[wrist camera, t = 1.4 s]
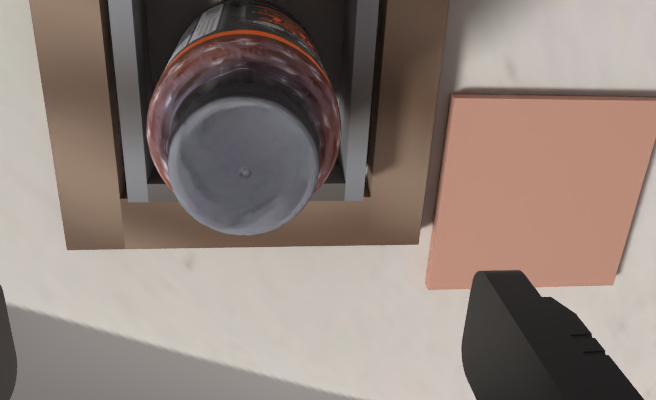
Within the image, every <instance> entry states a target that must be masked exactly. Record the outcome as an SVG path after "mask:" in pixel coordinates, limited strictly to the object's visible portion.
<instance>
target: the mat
mask: <svg viewBox="0 0 656 400" xmlns="http://www.w3.org/2000/svg"><path fill="white" fill-rule="evenodd" d="M655 139H656V97H607V96H539V95H472V94H451V98H450V105H449V113H448V120H447V127H446V135H445V142H444V149H443V157H442V164H441V172H440V179H439V186H438V194H437V201H436V208H435V216H434V223H433V230H432V238H431V245H430V252H429V260H428V267H427V274H426V282H425V284H426V286H427V288H428V290H440V289H471V286H472V281H473V278H474V275H475V274H476V272H478V271H490V270H520V271H522V272H523V273H524V274H525V275H526V277H527V278H528V279H529V281H530V282H531V283H532V285H533V286H534V287H560V286H600V285H613V284H614V280H615V277H616V274H617V270H618V267H619V263H620V260H621V256H622V253H623V249H624V246H625V242H626V239H627V236H628V232H629V229H630V225H631V222H632V218H633V215H634V211H635V208H636V205H637V201H638V198H639V194H640V191H641V187H642V184H643V180H644V177H645V173H646V170H647V167H648V163H649V160H650V156H651V153H652V149H653V146H654V142H655Z"/></svg>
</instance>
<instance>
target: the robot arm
mask: <svg viewBox="0 0 656 400" xmlns="http://www.w3.org/2000/svg"><path fill="white" fill-rule="evenodd" d="M462 362H463V367H464V372H465V375H466V377H467V380H468V382H469V384H470V386H471V388H472V391H473V393H474V395H475V397H476V399H477V400H644V399H643V398H642V396H641V395H640V394H639V393H638V391H637V390H636V389H635V388H634V386H633V385H632V384H631V383H630V381H629V380H628V379H627V378H626V376H625V375H624V374H623V373H622V371H621V370H620V369H619V368H618V366H617V365H616V364H615V363H614V361H613V360H612V359H611V358H610V356H609V355H605V350H604V349H603V348H602V346H601V345H600V344H599V343H598V341H597V340H596V339H595V338H592V334H591V332H590V331H589V330H588V329H587V327H586V326H585V325H584V324H583V322H582V321H581V320H580V319H579V317H578V316H577V315H576V314H575V313H574V312H572V311H571V310H569V309H568V308H566V307H565V306H563V305H562V304H560V303H559V302H558V301H556V300H555V299H553V298H552V297H541V296H540V294H539V293H538V292H537V290H536V289H535V288H534V286H533V285H532V283H531V282H530V281H529V279H528V278H527V277H526V275H525V274H524V273H523V272H522V271H520V270H490V271H478V272H476V274H475V275H474V278H473V281H472V286H471V292H470V297H469V303H468V309H467V315H466V321H465V327H464V333H463V339H462ZM16 375H17V358H16V352H15V347H14V342H13V338H12V332H11V328H10V323H9V318H8V313H7V308H6V303H5V298H4V293H3V290H2V287H1V285H0V400H9V399H10V398H11V396H12V393H13V390H14V386H15V381H16Z"/></svg>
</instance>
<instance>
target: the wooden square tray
mask: <svg viewBox="0 0 656 400" xmlns="http://www.w3.org/2000/svg"><path fill="white" fill-rule="evenodd" d="M29 3H30V9H31V16H32V23H33V29H34V36H35V42H36V49H37V56H38V62H39V69H40V75H41V82H42V88H43V95H44V102H45V108H46V115H47V121H48V128H49V134H50V141H51V148H52V154H53V161H54V167H55V174H56V181H57V187H58V194H59V200H60V207H61V213H62V220H63V227H64V233H65V240H66V246H67V250H97V249H161V248H224V247H288V246H351V245H415V244H419V236H420V228H421V220H422V212H423V205H424V197H425V189H426V181H427V173H428V165H429V157H430V149H431V141H432V133H433V125H434V118H435V110H436V102H437V94H438V86H439V78H440V70H441V62H442V54H443V46H444V39H445V31H446V23H447V15H448V7H449V0H381V12H380V24H379V37H378V49H377V61H376V73H375V86H374V98H373V110H372V122H371V135H370V147H369V159H368V171H367V184H366V186H364V184H365V172H366V159H367V147H368V134H369V122H370V109H371V97H372V84H373V72H374V59H375V47H376V34H377V22H378V9H379V0H345V16H344V33H343V51H342V68H341V85H340V103H339V111H340V117H341V128H342V136H341V143H340V148H339V152H338V156H337V159H336V162H335V164H334V167H333V169H332V171H331V172H330V174H329V176H328V178H327V180H326V181H325V182H324V184H323V185H322V186H321V188H320V189H319V190H318V191H317V192H316V193H315V194H314V195H313V196H312V197H311V198H310V200H309V202H308V204H307V205H306V206H305V207H304V209H303V210H302V211H301V212H300V213H299V214H298V215H297V216H296V217H294V218H293V219H292V220H291V221H289V222H288V223H286V224H285V225H283V226H281V227H279V228H277V229H275V230H272V231H269V232H266V233H262V234H257V235H249V236H248V235H234V234H232V235H230V234H225V233H221V232H218V231H216V230H213V229H211V228H209V227H207V226H206V225H203V224H201V223H199V222H198V221H197V220H195V219H194V218H193V217H192V216H191V215H190V214H189V213H188V212H187V211H186V210H185V209H184V208H183V207H182V206H181V204H180V203H179V201H178V199H177V197H176V196H175V194H174V192H172V190H171V189H170V188H169V187H168V186H167V184H166V183H165V182H164V181H163V179H162V178H161V176H160V174H159V173H158V171H157V169H156V167H155V165H154V163H153V161H152V158H151V155H150V151H149V146H148V141H147V136H146V128H147V114H148V109H149V104H150V101H151V98H152V86H151V73H150V60H149V46H148V33H147V20H146V6H145V0H108V6H109V16H110V26H111V36H112V46H113V56H114V66H115V76H116V86H117V96H118V106H119V116H120V126H121V136H122V146H123V156H124V166H125V176H126V186H127V187H125V184H124V175H123V165H122V155H121V145H120V135H119V125H118V115H117V105H116V95H115V86H114V76H113V66H112V56H111V46H110V36H109V26H108V16H107V6H106V0H29Z"/></svg>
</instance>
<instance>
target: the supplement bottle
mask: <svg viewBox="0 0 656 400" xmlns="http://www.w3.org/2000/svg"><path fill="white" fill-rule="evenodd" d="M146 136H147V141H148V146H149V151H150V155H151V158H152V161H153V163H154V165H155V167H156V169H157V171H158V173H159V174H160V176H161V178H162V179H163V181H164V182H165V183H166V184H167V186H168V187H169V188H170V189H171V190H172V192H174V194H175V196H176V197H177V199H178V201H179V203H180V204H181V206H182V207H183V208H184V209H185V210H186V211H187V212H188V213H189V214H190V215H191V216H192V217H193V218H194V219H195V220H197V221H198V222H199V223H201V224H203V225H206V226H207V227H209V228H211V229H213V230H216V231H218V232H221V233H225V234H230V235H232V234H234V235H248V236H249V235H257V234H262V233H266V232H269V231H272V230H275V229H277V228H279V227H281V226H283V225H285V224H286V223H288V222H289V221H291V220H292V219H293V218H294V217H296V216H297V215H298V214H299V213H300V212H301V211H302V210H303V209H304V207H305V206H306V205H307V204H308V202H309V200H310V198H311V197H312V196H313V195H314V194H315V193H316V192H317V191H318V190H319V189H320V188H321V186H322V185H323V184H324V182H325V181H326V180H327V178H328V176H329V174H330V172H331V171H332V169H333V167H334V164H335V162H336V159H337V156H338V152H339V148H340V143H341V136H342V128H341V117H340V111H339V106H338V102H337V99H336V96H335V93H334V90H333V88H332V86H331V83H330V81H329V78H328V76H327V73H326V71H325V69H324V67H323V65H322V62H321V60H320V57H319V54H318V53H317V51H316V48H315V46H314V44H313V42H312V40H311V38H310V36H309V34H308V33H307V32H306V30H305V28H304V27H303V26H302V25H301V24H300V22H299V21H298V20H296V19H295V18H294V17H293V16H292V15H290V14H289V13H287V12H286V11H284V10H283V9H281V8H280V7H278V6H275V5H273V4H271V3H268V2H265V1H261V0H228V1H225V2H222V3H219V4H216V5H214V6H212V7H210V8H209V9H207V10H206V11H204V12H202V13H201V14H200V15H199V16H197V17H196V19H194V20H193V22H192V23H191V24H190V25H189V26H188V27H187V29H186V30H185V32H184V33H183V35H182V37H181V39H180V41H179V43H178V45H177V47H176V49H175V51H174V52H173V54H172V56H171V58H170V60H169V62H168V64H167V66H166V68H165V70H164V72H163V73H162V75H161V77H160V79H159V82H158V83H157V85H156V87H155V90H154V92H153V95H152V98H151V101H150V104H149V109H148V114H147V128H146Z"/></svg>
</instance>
